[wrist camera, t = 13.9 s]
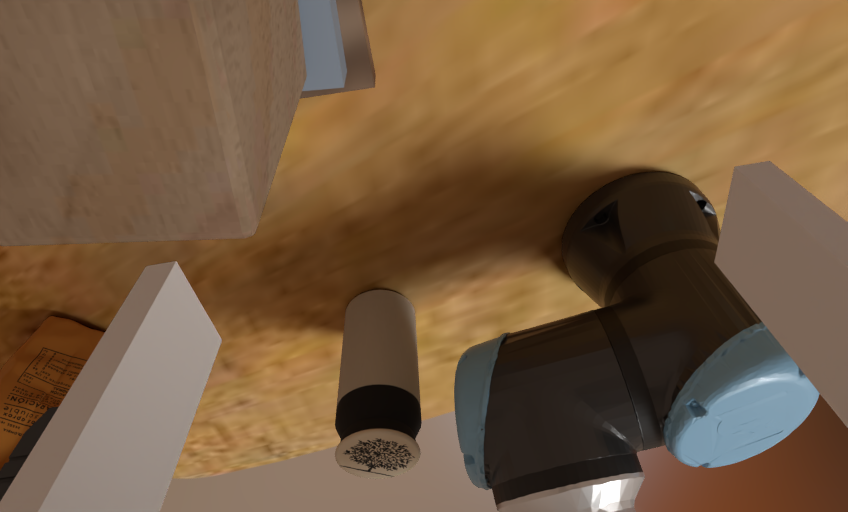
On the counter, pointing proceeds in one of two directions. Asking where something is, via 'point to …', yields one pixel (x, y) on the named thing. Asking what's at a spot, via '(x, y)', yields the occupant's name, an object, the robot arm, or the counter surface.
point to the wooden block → (143, 117)
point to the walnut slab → (352, 50)
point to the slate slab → (322, 45)
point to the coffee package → (41, 376)
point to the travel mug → (378, 387)
